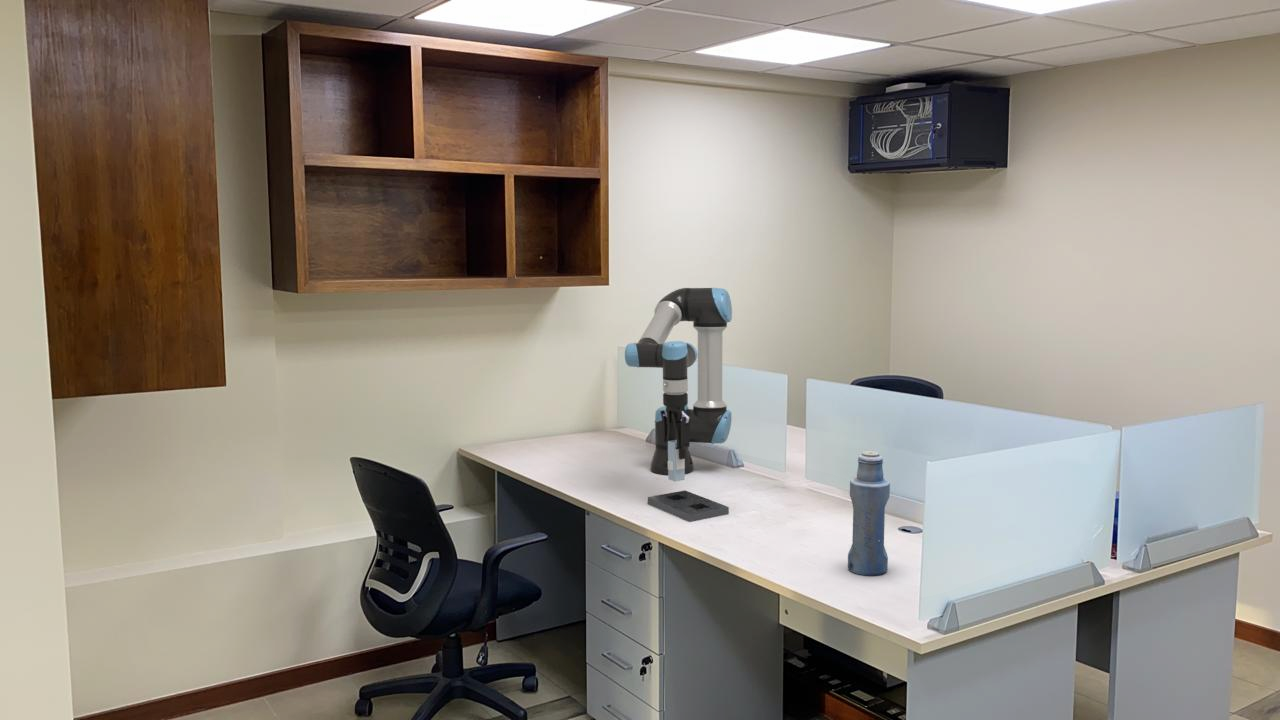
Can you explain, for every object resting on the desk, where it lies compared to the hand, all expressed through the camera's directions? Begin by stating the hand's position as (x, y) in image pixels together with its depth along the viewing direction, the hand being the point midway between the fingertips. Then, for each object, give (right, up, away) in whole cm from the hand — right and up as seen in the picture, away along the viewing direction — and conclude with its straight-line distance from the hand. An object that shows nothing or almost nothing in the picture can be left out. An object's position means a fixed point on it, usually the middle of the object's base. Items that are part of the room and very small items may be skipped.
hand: (676, 467), depth 306 cm
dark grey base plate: (+3, -13, -4) cm, 14 cm away
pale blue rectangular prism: (0, -4, +1) cm, 4 cm away
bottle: (+46, -20, -57) cm, 76 cm away
